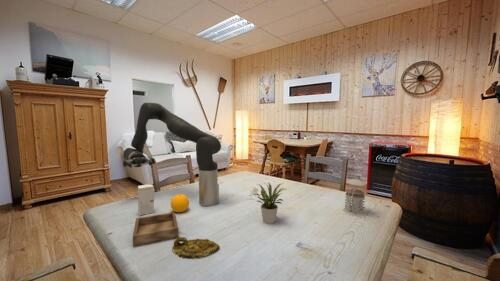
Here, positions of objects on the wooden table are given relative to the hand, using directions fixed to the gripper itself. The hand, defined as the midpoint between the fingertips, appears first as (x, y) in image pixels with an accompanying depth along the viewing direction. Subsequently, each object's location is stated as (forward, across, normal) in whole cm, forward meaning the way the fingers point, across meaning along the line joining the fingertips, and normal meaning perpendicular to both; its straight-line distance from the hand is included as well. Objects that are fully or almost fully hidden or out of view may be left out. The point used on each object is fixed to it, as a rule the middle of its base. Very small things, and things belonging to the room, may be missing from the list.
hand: (141, 164), depth 101 cm
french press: (+63, +78, +19) cm, 102 cm away
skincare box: (+11, 0, +20) cm, 23 cm away
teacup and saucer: (+22, +54, +20) cm, 62 cm away
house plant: (+48, +42, +19) cm, 67 cm away
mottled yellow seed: (+50, +9, +20) cm, 54 cm away
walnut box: (+32, +1, +20) cm, 37 cm away
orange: (+18, +13, +20) cm, 30 cm away
